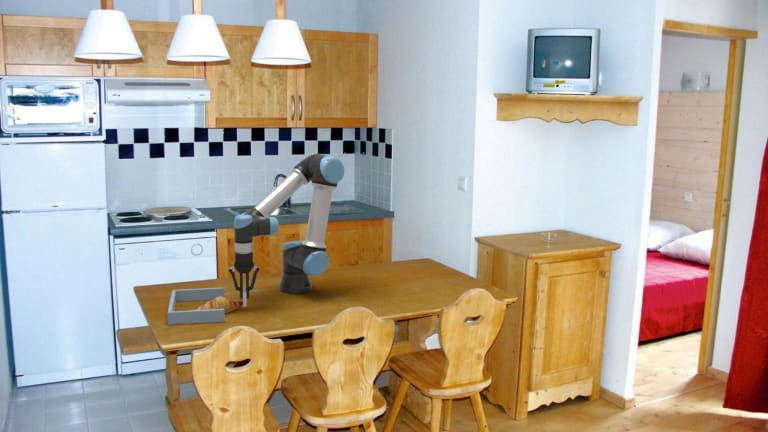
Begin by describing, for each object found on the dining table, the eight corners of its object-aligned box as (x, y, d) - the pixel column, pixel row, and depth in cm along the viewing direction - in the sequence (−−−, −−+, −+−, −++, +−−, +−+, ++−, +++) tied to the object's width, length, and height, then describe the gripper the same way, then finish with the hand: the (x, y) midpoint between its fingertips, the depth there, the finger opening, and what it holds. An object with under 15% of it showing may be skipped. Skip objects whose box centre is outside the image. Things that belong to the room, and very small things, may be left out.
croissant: (197, 326, 288) (200, 311, 284) (189, 309, 294) (191, 295, 290) (245, 316, 300) (248, 302, 296) (236, 300, 306) (239, 286, 302)
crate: (223, 298, 315) (223, 287, 314) (224, 321, 283) (224, 309, 283) (172, 300, 310) (172, 289, 309) (167, 324, 278) (167, 312, 278)
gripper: (258, 249, 301) (259, 302, 305) (227, 250, 298) (228, 303, 302) (260, 253, 294) (260, 307, 298) (228, 254, 291) (229, 309, 295)
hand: (244, 305), depth 300 cm, fingers closed
